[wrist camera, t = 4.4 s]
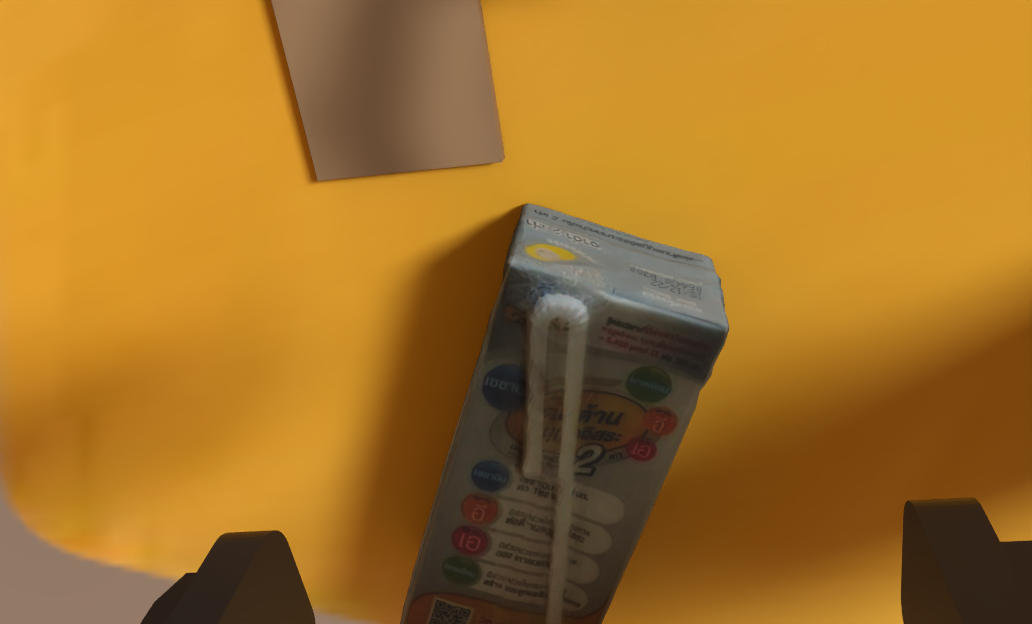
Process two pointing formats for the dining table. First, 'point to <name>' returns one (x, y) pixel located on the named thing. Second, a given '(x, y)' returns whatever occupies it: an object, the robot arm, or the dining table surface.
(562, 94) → the dining table surface
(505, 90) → the dining table surface
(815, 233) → the dining table surface
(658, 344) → the beverage carton
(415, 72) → the pad
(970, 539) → the robot arm
